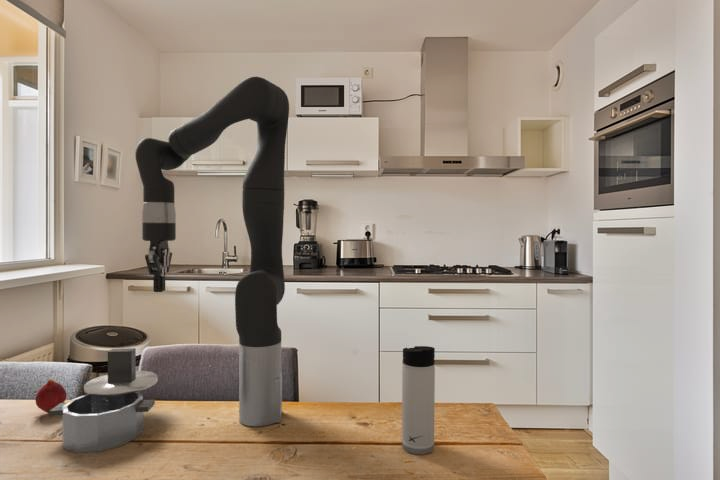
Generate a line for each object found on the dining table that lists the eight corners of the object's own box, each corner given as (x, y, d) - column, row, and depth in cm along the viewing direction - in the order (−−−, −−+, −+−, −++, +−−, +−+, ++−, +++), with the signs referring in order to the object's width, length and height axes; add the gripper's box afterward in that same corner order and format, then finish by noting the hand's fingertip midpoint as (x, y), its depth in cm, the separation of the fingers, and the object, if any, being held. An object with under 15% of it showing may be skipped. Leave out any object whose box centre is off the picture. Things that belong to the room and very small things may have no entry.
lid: (166, 373, 108) (165, 341, 108) (144, 395, 94) (144, 358, 93) (102, 375, 106) (102, 342, 106) (70, 397, 92) (69, 360, 92)
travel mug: (414, 459, 82) (415, 351, 82) (395, 443, 88) (396, 343, 88) (441, 451, 85) (442, 347, 85) (421, 437, 91) (422, 340, 91)
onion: (72, 408, 105) (72, 375, 105) (53, 419, 99) (52, 383, 99) (49, 407, 105) (49, 374, 105) (29, 417, 100) (28, 382, 99)
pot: (162, 418, 99) (162, 387, 99) (138, 449, 85) (138, 413, 85) (73, 422, 97) (73, 390, 97) (34, 454, 83) (34, 417, 83)
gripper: (166, 221, 103) (166, 295, 104) (182, 222, 117) (182, 287, 117) (132, 220, 103) (133, 295, 103) (152, 221, 116) (152, 288, 116)
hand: (159, 291), depth 110 cm, fingers closed
